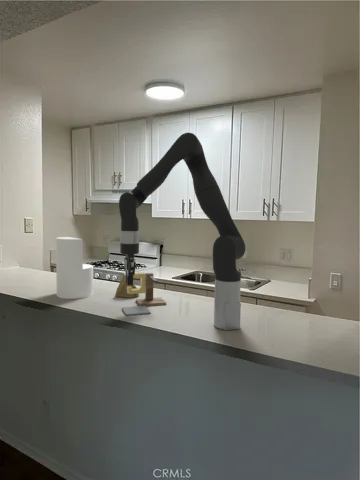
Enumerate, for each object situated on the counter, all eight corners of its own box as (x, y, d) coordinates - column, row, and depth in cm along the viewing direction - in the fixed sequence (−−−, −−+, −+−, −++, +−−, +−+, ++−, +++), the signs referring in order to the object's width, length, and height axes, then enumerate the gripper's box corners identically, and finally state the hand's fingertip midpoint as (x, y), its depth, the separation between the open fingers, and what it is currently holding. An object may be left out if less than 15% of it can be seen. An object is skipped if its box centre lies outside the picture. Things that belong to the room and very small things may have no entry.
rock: (144, 291, 162) (130, 285, 168) (138, 279, 157) (124, 273, 163) (130, 307, 157) (116, 301, 162) (124, 295, 151) (109, 289, 157)
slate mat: (150, 313, 133) (150, 312, 133) (126, 315, 130) (126, 314, 130) (144, 306, 143) (144, 305, 143) (121, 308, 140) (121, 307, 140)
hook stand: (169, 307, 142) (170, 278, 141) (142, 309, 138) (142, 279, 137) (160, 299, 156) (161, 272, 155) (135, 301, 152) (135, 273, 151)
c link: (145, 293, 136) (145, 274, 135) (128, 294, 133) (128, 274, 133) (143, 291, 139) (143, 272, 138) (127, 292, 136) (127, 273, 136)
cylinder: (65, 300, 151) (64, 239, 148) (51, 293, 164) (50, 237, 161) (99, 295, 162) (99, 238, 160) (84, 288, 175) (83, 236, 173)
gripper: (142, 243, 128) (142, 287, 129) (135, 240, 141) (135, 280, 143) (123, 243, 126) (123, 288, 127) (117, 240, 139) (117, 281, 140)
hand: (129, 283), depth 135 cm, fingers closed on c link, 3 cm apart
